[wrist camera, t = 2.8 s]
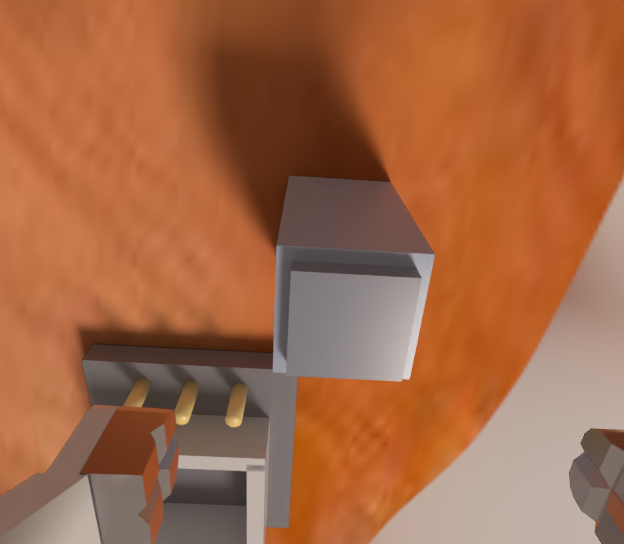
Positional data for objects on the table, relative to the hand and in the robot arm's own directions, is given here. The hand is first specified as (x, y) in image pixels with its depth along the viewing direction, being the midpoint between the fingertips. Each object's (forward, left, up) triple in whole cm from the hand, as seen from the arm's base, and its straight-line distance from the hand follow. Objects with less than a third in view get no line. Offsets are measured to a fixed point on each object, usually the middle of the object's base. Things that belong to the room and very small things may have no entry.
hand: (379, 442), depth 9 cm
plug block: (-1, 0, -11) cm, 11 cm away
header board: (+11, -6, -11) cm, 17 cm away
